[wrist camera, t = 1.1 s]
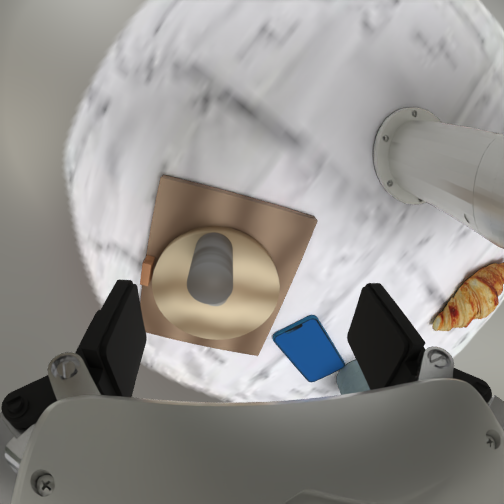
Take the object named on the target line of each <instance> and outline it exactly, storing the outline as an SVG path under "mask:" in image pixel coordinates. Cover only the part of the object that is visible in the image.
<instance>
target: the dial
mask: <svg viewBox="0 0 504 504" xmlns="http://www.w3.org/2000/svg"><path fill="white" fill-rule="evenodd" d="M152 291H153V295H154V299H155V301H156V304H157V306H158V308H159V309H160V311H161V312H162V314H163V315H164V316H165V317H166V318H167V319H168V320H169V321H170V322H171V323H172V324H173V325H174V326H176V327H177V328H179V329H180V330H182V331H184V332H186V333H188V334H191V335H193V336H197V337H200V338H205V339H214V340H222V339H231V338H235V337H239V336H242V335H245V334H247V333H249V332H251V331H253V330H255V329H256V328H258V327H259V326H260V325H262V324H263V323H264V322H265V321H266V320H267V319H268V318H269V316H270V315H271V314H272V312H273V311H274V309H275V307H276V304H277V301H278V298H279V291H280V284H279V278H278V274H277V270H276V267H275V264H274V262H273V259H272V257H271V256H270V254H269V253H268V251H267V250H266V249H265V248H264V247H263V245H261V244H260V243H259V242H258V241H257V240H256V239H254V238H253V237H251V236H249V235H248V234H245V233H243V232H241V231H238V230H235V229H232V228H227V227H219V226H209V227H201V228H196V229H193V230H190V231H188V232H186V233H184V234H181V235H180V236H178V237H177V238H175V239H174V240H173V241H172V242H171V243H170V244H169V245H168V246H167V247H166V248H165V249H164V251H163V252H162V254H161V256H160V258H159V260H158V262H157V264H156V267H155V269H154V273H153V277H152Z"/></svg>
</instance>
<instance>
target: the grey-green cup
mask: <svg viewBox="0 0 504 504" xmlns="http://www.w3.org/2000/svg"><path fill="white" fill-rule="evenodd" d="M337 385H338V387H339V390H340V393H341V395H344V394H350V393H357V392H363V391H369V390H370V388H369V386H368V384H367V381H366V379H365V377H364V375H363V373H362V370H361V368H360V366H359V364H358V362H357V360H354V361H351V362H350V363H348V364H347V365H345V367H344V368H342V369H341V370H340V371H339V373H338V375H337Z"/></svg>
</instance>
